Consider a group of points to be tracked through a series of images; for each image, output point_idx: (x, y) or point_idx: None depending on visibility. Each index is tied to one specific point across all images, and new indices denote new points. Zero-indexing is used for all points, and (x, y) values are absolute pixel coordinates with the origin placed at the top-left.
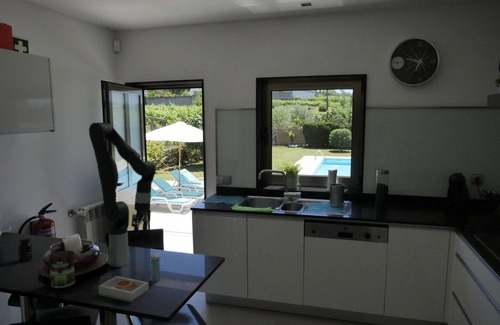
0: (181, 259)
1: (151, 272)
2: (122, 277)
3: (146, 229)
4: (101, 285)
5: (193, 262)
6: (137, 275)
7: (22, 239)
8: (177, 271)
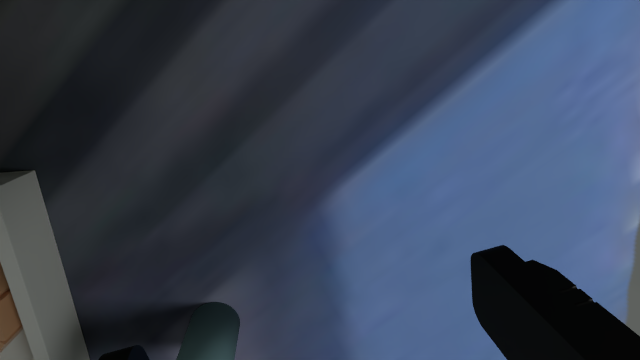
0: (530, 259)
1: (179, 352)
2: (7, 245)
3: (491, 334)
4: None
5: None
6: (208, 189)
7: None
8: (364, 344)
